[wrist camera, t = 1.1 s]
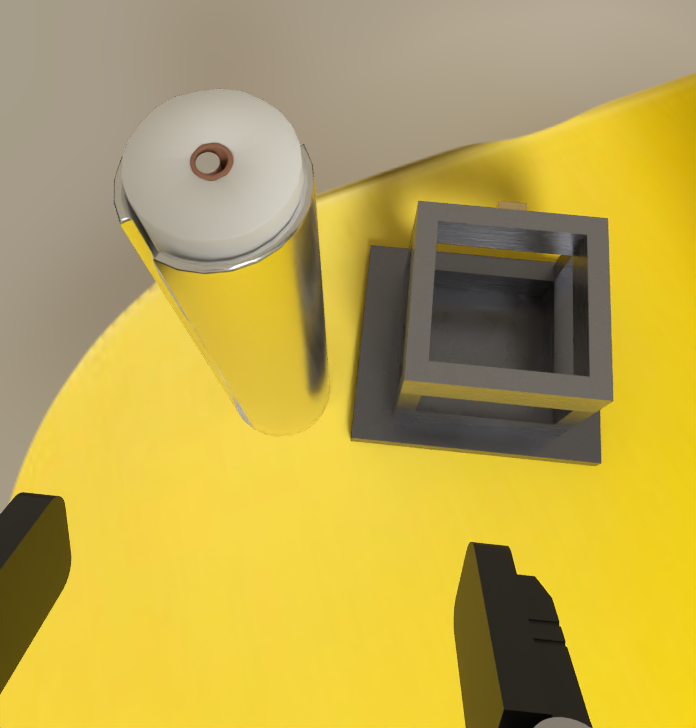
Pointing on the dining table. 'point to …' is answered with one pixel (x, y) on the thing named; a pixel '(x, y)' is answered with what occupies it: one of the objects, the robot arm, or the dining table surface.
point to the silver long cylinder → (234, 247)
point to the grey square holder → (488, 337)
